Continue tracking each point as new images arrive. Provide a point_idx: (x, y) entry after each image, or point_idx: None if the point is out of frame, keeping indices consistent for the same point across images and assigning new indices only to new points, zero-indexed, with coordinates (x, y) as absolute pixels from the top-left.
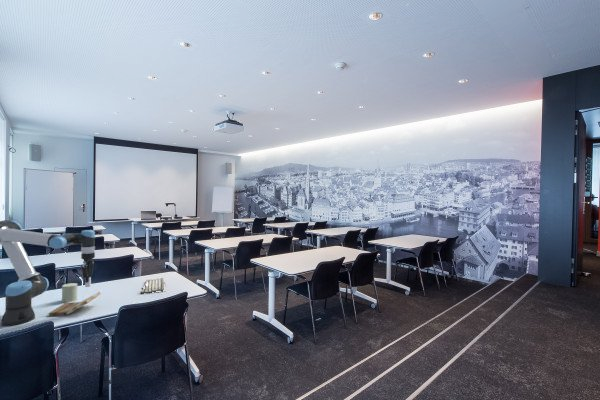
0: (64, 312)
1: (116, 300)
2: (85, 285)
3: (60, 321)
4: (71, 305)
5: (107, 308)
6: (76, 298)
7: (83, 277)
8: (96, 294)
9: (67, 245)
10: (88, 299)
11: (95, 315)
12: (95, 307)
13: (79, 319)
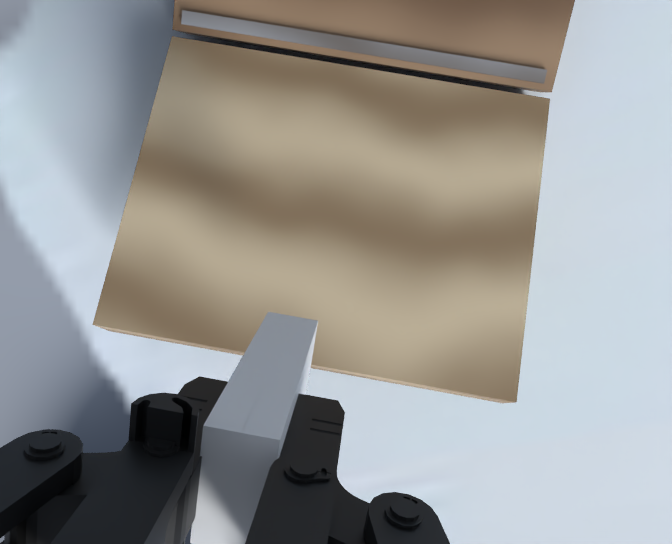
0: (174, 26)
1: (570, 476)
2: (262, 329)
3: (4, 60)
4: (433, 19)
5: None
6: None
7: (37, 433)
8: (400, 382)
9: None
10: (155, 336)
11: (117, 365)
12: None
13: (32, 242)
